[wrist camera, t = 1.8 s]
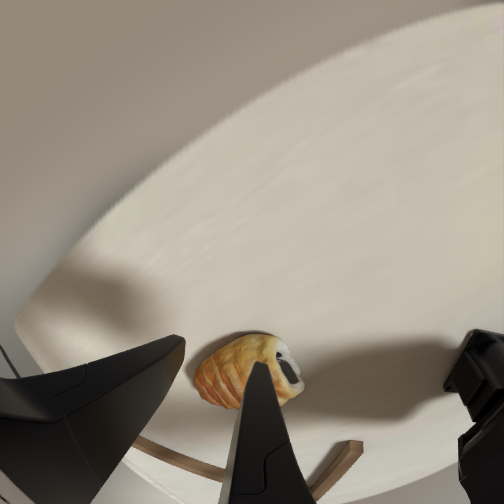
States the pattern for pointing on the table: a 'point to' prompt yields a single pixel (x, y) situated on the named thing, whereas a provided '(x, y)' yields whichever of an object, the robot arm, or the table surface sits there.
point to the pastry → (247, 370)
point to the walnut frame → (317, 490)
